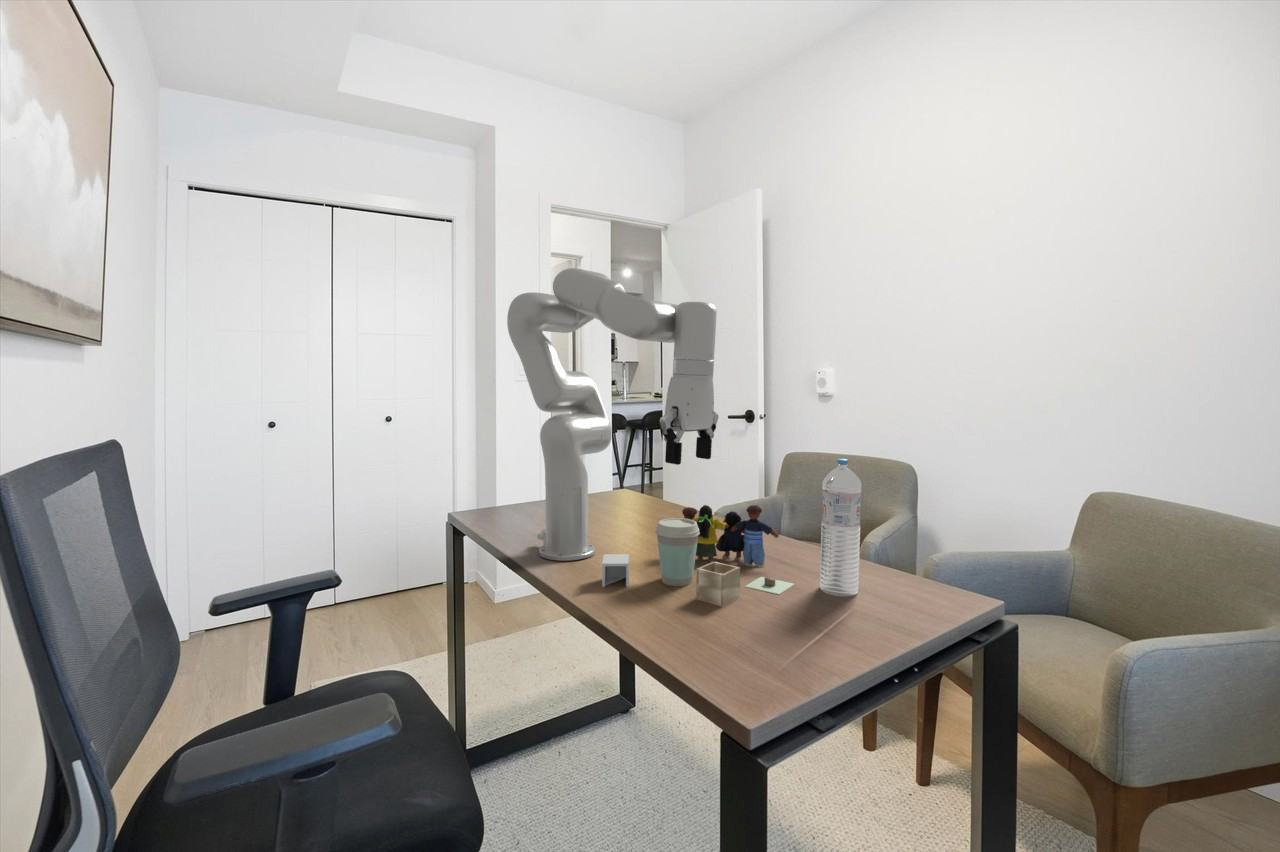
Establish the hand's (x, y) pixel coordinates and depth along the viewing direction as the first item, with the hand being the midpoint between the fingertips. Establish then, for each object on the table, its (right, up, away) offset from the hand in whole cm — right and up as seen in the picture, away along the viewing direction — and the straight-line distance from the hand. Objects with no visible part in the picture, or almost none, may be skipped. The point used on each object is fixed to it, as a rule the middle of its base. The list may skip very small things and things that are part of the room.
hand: (688, 460), depth 113 cm
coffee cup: (-2, -24, +3) cm, 25 cm away
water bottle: (+28, -25, -2) cm, 37 cm away
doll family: (+9, -23, +17) cm, 30 cm away
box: (+5, -25, -6) cm, 26 cm away
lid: (+15, -25, +1) cm, 29 cm away
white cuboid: (-14, -24, +3) cm, 28 cm away
